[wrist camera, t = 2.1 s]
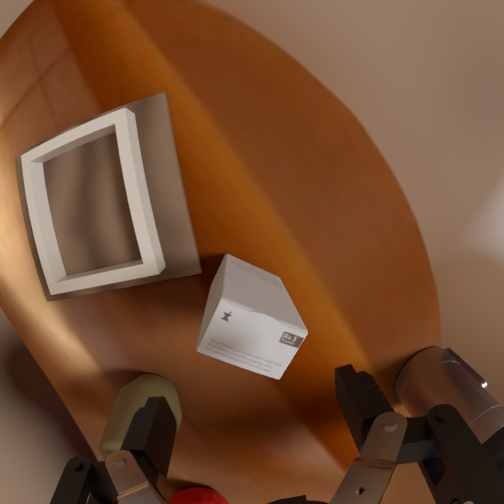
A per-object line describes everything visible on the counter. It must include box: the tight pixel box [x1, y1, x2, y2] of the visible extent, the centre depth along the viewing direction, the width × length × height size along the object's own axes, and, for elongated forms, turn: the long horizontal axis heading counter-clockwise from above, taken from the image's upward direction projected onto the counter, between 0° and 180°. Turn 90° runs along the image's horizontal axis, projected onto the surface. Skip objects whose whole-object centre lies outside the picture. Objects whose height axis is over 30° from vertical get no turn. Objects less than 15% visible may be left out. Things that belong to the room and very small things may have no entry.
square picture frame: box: [21, 108, 166, 295], centre depth 24 cm, size 13×15×2 cm
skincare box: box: [196, 254, 308, 380], centre depth 23 cm, size 6×4×12 cm
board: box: [16, 92, 202, 302], centre depth 26 cm, size 20×18×1 cm
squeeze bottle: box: [99, 374, 182, 504], centre depth 23 cm, size 8×8×18 cm
